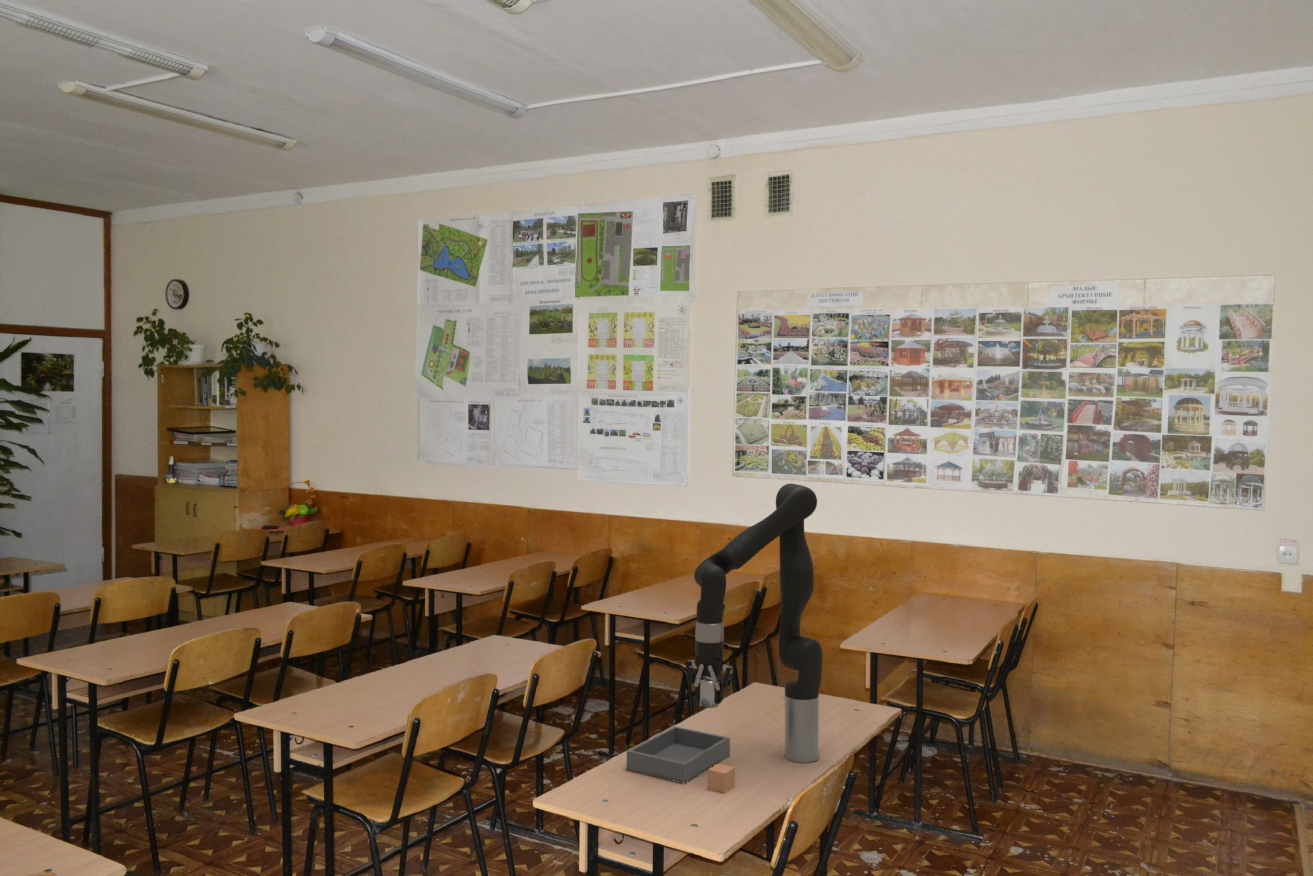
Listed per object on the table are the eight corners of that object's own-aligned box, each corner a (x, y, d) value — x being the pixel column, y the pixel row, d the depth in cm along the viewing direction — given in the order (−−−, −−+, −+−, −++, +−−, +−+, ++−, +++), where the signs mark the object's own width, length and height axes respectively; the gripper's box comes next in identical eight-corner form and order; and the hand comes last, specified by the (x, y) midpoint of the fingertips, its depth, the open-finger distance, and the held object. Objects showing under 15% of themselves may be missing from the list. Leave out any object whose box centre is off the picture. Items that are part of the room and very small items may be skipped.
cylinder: (705, 701, 256) (705, 675, 256) (721, 704, 253) (721, 678, 253) (696, 706, 251) (696, 679, 251) (713, 709, 249) (713, 682, 249)
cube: (717, 782, 242) (717, 763, 242) (734, 787, 239) (734, 767, 239) (707, 789, 238) (707, 769, 238) (725, 793, 235) (725, 773, 235)
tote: (674, 743, 271) (674, 726, 271) (729, 755, 261) (729, 737, 261) (626, 769, 251) (626, 751, 251) (684, 784, 241) (684, 764, 241)
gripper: (740, 639, 251) (739, 702, 252) (692, 632, 259) (692, 694, 259) (727, 644, 245) (726, 710, 245) (679, 637, 253) (678, 701, 253)
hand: (709, 701), depth 252 cm, fingers closed on cylinder, 5 cm apart
